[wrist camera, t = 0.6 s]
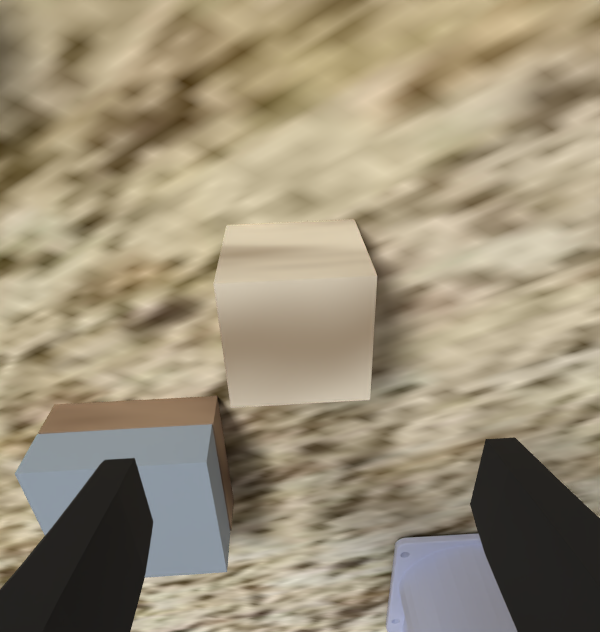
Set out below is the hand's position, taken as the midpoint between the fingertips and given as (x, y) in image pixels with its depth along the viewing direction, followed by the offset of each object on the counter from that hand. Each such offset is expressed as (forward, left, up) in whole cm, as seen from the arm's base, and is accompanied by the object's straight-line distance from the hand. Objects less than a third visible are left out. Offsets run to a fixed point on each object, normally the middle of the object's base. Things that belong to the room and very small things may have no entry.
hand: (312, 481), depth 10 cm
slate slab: (-9, +7, -8) cm, 14 cm away
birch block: (0, 0, -10) cm, 10 cm away
